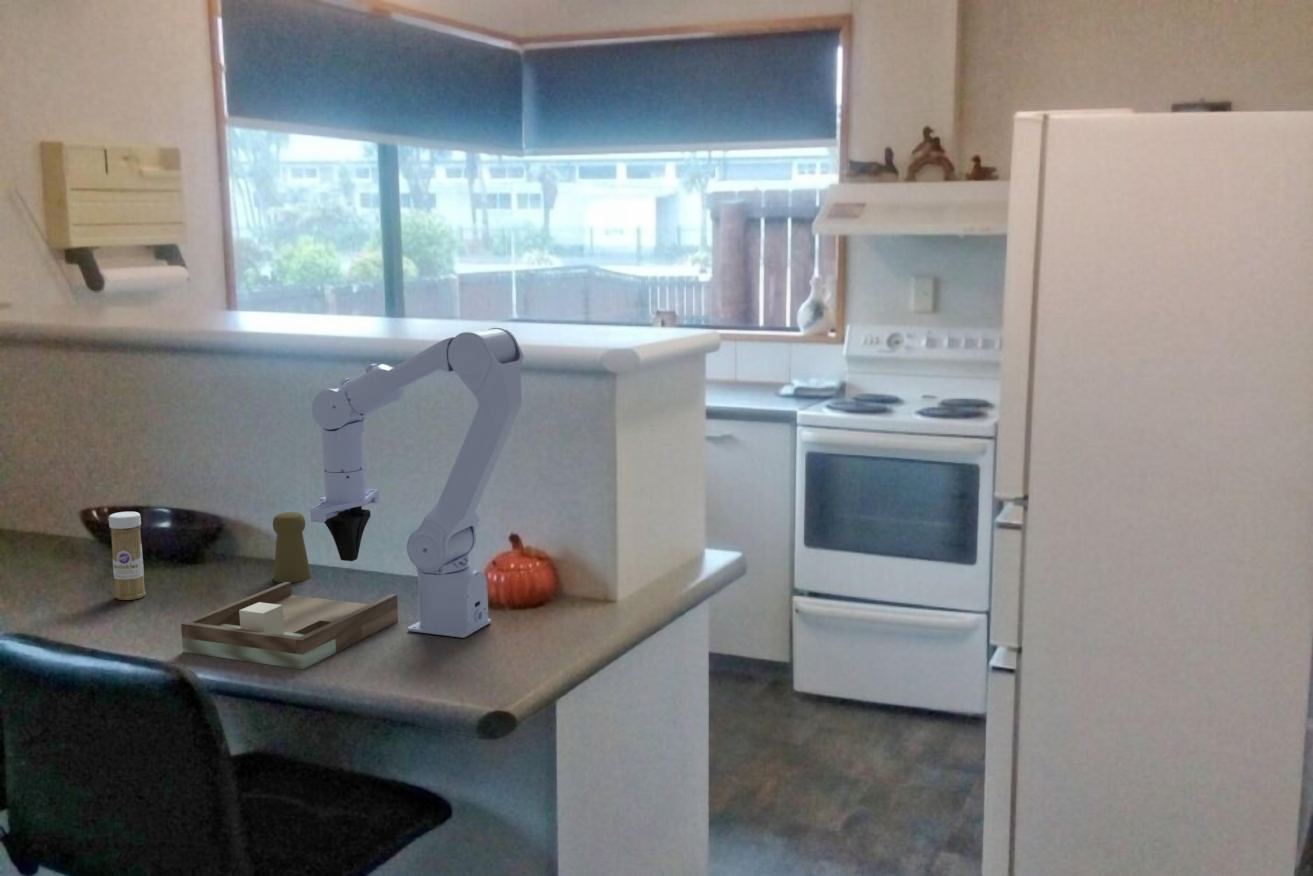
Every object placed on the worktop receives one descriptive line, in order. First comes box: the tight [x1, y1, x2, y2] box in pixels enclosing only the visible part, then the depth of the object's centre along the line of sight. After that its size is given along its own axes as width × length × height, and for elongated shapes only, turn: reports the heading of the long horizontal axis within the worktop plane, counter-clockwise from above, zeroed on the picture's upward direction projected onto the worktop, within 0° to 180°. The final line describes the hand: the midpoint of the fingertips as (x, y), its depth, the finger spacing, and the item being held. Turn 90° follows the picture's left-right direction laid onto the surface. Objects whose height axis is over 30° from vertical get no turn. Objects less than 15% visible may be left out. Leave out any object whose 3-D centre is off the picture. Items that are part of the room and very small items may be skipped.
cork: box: [272, 511, 312, 584], centre depth 205 cm, size 6×6×11 cm
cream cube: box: [239, 602, 284, 634], centre depth 169 cm, size 4×4×4 cm
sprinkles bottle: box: [108, 511, 147, 601], centre depth 194 cm, size 5×5×13 cm
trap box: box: [180, 582, 399, 670], centre depth 175 cm, size 20×22×4 cm
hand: (349, 559), depth 183 cm, fingers closed
